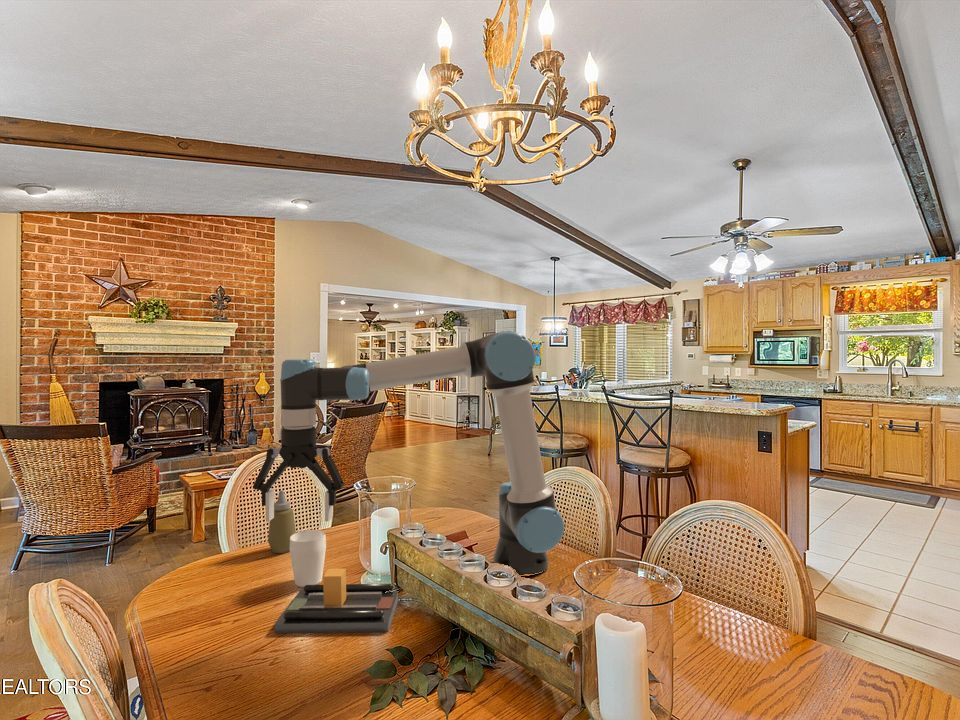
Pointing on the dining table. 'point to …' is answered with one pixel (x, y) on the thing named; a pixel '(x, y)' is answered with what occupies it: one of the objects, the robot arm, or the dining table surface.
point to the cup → (308, 556)
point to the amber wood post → (334, 587)
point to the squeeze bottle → (281, 525)
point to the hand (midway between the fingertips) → (299, 519)
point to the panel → (340, 610)
